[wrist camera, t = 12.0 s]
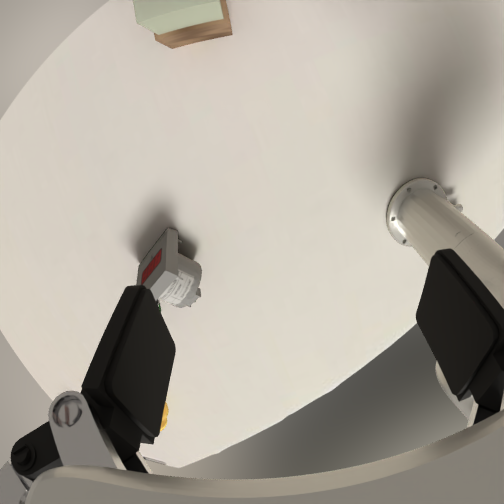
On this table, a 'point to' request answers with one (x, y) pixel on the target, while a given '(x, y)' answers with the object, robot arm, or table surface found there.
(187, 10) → the sage block
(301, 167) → the table surface
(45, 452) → the robot arm
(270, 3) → the table surface
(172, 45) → the walnut block
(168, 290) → the voltmeter
